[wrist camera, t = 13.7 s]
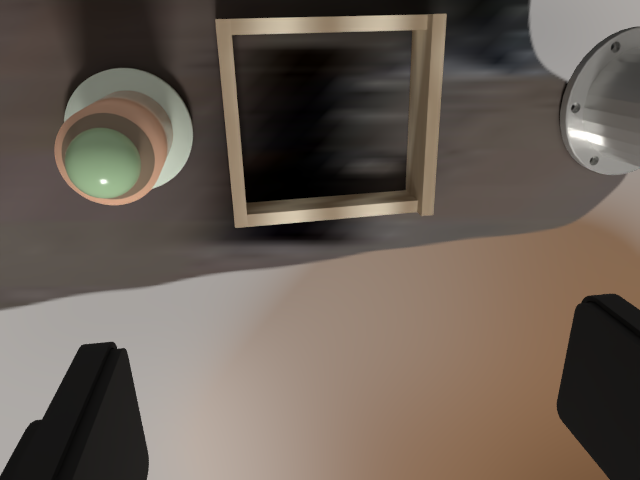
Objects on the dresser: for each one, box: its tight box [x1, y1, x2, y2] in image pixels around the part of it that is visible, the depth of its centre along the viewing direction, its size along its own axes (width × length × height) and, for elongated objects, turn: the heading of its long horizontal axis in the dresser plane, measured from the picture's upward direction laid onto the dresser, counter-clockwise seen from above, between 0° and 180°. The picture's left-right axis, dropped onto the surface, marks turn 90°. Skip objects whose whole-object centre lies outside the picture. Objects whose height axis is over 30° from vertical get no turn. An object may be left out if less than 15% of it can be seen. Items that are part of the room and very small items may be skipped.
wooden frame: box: [215, 14, 447, 228], centre depth 39 cm, size 16×15×4 cm
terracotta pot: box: [55, 90, 173, 205], centre depth 32 cm, size 6×6×12 cm
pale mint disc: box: [64, 68, 193, 188], centre depth 38 cm, size 9×9×1 cm
